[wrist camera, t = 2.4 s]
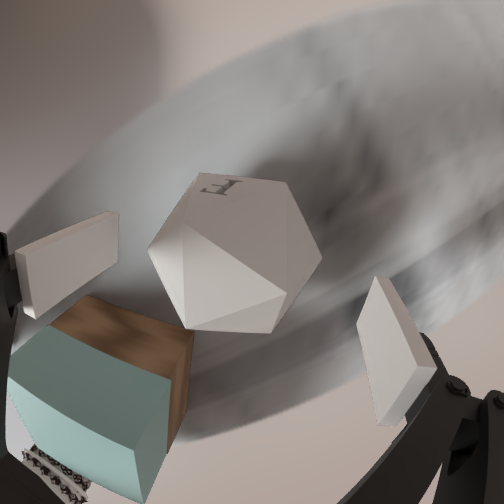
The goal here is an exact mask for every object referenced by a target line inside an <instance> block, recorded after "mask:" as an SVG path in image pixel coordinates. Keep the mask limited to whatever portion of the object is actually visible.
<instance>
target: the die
mask: <svg viewBox="0 0 504 504" xmlns="http://www.w3.org/2000/svg"><path fill="white" fill-rule="evenodd" d="M147 251H148V253H149V255H150V258H151V260H152V262H153V264H154V266H155V268H156V271H157V273H158V275H159V277H160V279H161V281H162V283H163V285H164V287H165V289H166V291H167V293H168V295H169V297H170V299H171V301H172V303H173V305H174V307H175V309H176V311H177V313H178V315H179V317H180V319H181V321H182V323H183V325H184V327H185V329H193V330H207V331H223V332H242V333H269V334H271V332H272V331H273V330H274V328H275V327H276V325H277V324H278V323H279V321H280V320H281V318H282V317H283V316H284V314H285V313H286V311H287V310H288V309H289V307H290V306H291V304H292V303H293V301H294V300H295V298H296V297H297V296H298V294H299V293H300V291H301V290H302V288H303V287H304V285H305V284H306V282H307V281H308V279H309V278H310V277H311V275H312V274H313V272H314V271H315V269H316V268H317V266H318V265H319V263H320V262H321V260H322V258H323V257H322V255H321V253H320V251H319V249H318V247H317V245H316V242H315V240H314V238H313V236H312V234H311V232H310V230H309V228H308V226H307V224H306V222H305V219H304V217H303V215H302V213H301V211H300V209H299V207H298V205H297V203H296V201H295V199H294V197H293V195H292V193H291V191H290V189H289V187H288V185H287V183H286V182H281V181H273V180H265V179H257V178H248V177H239V176H230V175H219V174H209V173H199V174H198V175H197V177H196V178H195V179H194V181H193V182H192V183H191V185H190V186H189V188H188V189H187V191H186V192H185V193H184V195H183V196H182V198H181V199H180V201H179V202H178V204H177V205H176V206H175V208H174V209H173V211H172V212H171V214H170V215H169V217H168V218H167V220H166V221H165V223H164V224H163V226H162V227H161V229H160V230H159V232H158V234H157V235H156V237H155V238H154V240H153V241H152V243H151V244H150V246H149V248H148V249H147Z"/></svg>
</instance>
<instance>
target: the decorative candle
mask: <svg viewBox="0 0 504 504" xmlns="http://www.w3.org/2000/svg"><path fill="white" fill-rule="evenodd" d="M22 454H23V456H24V458H25V459H24V460H23V461H22V463H23V464H24V465H25V466H26V467H28V468H29V469H30V470H32V471H33V472H34V473H36V474H37V475H38V476H39V477H40V478H41V479H42V480H43V481H44V482H45V483H46V484H47V485H48V486H49V487H50V489H51V490H52V491H53V492H54V493H55V494H56V495H57V496H58V497H59V498H60V499H61V500H62V501H63V502H64V503H65V504H82V503H84V502H87V501H86V500H87V499H88V496H87V494H86V490H87V489H88V488H89V487H90V485H91V482H92V481H91V480H89V479H87V478H85V477H83V476H82V475H80V474H78V473H76V472H75V471H73V470H71V469H69V468H68V467H66V466H65V465H63V464H61V463H60V462H58V461H57V460H55V459H54V458H52V457H50V456H49V455H47V454H46V453H45V452H43V451H42V450H40V449H39V448H38V447H37V446H36V444H35V443H34V445H33V446H32V448H31V449H30V450H26V449H24V451H22Z"/></svg>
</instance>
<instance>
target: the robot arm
mask: <svg viewBox="0 0 504 504" xmlns="http://www.w3.org/2000/svg"><path fill="white" fill-rule="evenodd" d="M118 231H119V214H118V213H114V212H109V211H107V212H105V213H102V214H99V215H97V216H94V217H92V218H89V219H87V220H84V221H82V222H79V223H77V224H74V225H72V226H69V227H67V228H64V229H62V230H60V231H57V232H55V233H52V234H50V235H48V236H46V237H43V238H41V239H39V240H37V241H34V242H32V243H30V244H28V245H25V246H23V247H21V248H19V249H17V250H15V251H14V252H15V253H14V254H11V255H9V256H8V247H7V237H6V234H5V233H3V232H0V504H65V503H64V502H63V501H62V500H61V499H60V498H59V497H58V496H57V495H56V494H55V493H54V492H53V491H52V490H51V489H50V487H49V486H48V485H47V484H46V483H45V482H44V481H43V480H42V479H41V478H40V477H39V476H38V475H37V474H36V473H34V472H33V471H32V470H30V469H29V468H28V467H26V466H25V465H24V464H23V463H21V462H20V461H19V460H18V459H16V458H15V457H14V456H13V455H12V454H10V453H9V452H8V450H7V446H6V439H5V414H6V392H7V380H8V370H9V362H10V354H11V347H12V341H13V335H14V330H15V324H16V319H17V314H18V308H17V303H19V302H20V301H22V303H23V308H24V313H26V314H27V315H29V316H31V317H32V318H34V319H37V318H38V317H40V316H41V315H42V314H44V313H45V312H46V311H48V310H49V309H51V308H52V307H53V306H55V305H56V304H57V303H59V302H60V301H62V300H63V299H64V298H66V297H67V296H69V295H70V294H71V293H73V292H74V291H76V290H77V289H78V288H80V287H81V286H83V285H84V284H86V283H87V282H88V281H90V280H91V279H93V278H94V277H96V276H97V275H99V274H100V273H102V272H103V271H105V270H106V269H108V268H109V267H111V266H112V265H114V264H115V263H117V262H118ZM356 325H357V329H358V333H359V337H360V342H361V346H362V350H363V355H364V359H365V364H366V368H367V373H368V377H369V383H370V387H371V392H372V398H373V403H374V408H375V414H376V420H377V425H380V426H397V425H398V423H399V422H400V421H401V420H402V419H403V417H404V416H405V417H406V421H407V425H406V426H405V427H404V429H403V430H402V431H401V432H400V433H399V435H398V436H397V437H396V438H395V439H394V440H393V442H392V444H391V445H390V447H389V448H388V449H387V450H386V451H385V453H384V454H383V455H382V456H381V458H380V459H379V460H378V461H377V462H376V463H375V464H374V466H373V467H372V468H371V469H370V470H369V471H368V472H367V474H366V475H365V476H364V477H363V478H362V479H361V480H360V481H359V482H358V483H357V484H356V486H354V487H353V488H352V489H351V490H350V492H348V494H346V495H345V496H344V497H343V498H342V499H341V500H340V501H339V502H338V503H337V504H418V503H419V502H420V500H421V499H422V497H423V495H424V494H425V492H426V490H427V489H428V487H429V485H430V484H431V482H432V480H433V478H434V477H435V475H436V473H437V471H438V469H439V467H440V466H441V463H442V462H443V463H442V469H441V472H440V477H439V481H438V485H437V489H436V492H435V496H434V500H433V503H432V504H504V393H502V392H500V391H497V390H491V391H490V392H489V393H488V394H487V395H486V397H485V398H484V399H483V400H482V399H478V398H475V397H472V396H471V392H470V390H469V387H468V386H467V385H466V384H465V382H463V381H462V380H461V379H459V378H457V377H455V376H451V375H449V374H448V372H447V370H446V368H445V366H444V365H443V362H442V361H441V359H440V357H439V355H438V353H437V351H436V350H435V347H434V345H433V343H432V342H431V340H430V339H429V338H428V337H427V336H426V335H425V334H424V333H420V332H419V331H418V329H417V327H416V325H415V324H414V322H413V320H412V318H411V316H410V314H409V313H408V311H407V309H406V307H405V305H404V304H403V302H402V300H401V298H400V297H399V295H398V293H397V291H396V290H395V288H394V286H393V285H392V283H391V281H390V280H389V279H387V278H383V277H379V276H375V277H374V280H373V283H372V286H371V288H370V291H369V293H368V296H367V299H366V301H365V304H364V306H363V309H362V311H361V314H360V316H359V319H358V321H357V323H356Z"/></svg>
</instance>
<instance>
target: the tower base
mask: <svg viewBox="0 0 504 504" xmlns="http://www.w3.org/2000/svg"><path fill="white" fill-rule="evenodd" d="M49 325H50V326H52V327H54V328H56V329H57V330H59V331H61V332H63V333H65V334H67V335H69V336H71V337H73V338H75V339H77V340H78V341H80V342H83V343H85V344H87V345H89V346H91V347H93V348H95V349H97V350H99V351H101V352H103V353H106V354H108V355H110V356H112V357H115V358H117V359H119V360H121V361H124V362H126V363H128V364H131V365H133V366H136V367H138V368H141V369H143V370H146V371H148V372H151V373H153V374H156V375H159V376H161V377H164V378H167V379H170V380H171V390H170V403H169V417H168V434H167V454H168V452H169V450H170V447H171V445H172V443H173V440H174V438H175V436H176V434H177V431H178V429H179V427H180V424H181V422H182V420H183V417H184V415H185V413H186V409H187V397H188V386H189V376H190V366H191V356H192V347H193V338H194V331H191V330H187V329H184V328H181V327H177V326H174V325H171V324H168V323H165V322H162V321H158V320H155V319H152V318H149V317H146V316H143V315H140V314H137V313H135V312H132V311H129V310H126V309H123V308H120V307H118V306H115V305H112V304H109V303H107V302H104V301H101V300H99V299H96V298H93V297H91V296H88V295H86V296H84V297H83V298H82V299H81V300H79V301H78V302H77V303H75V304H74V305H73V306H72V307H70V308H69V309H68V310H67V311H65V312H64V313H63V314H62V315H60V316H59V317H58V318H57V319H55V320H54V321H53V322H52V323H51V324H49Z"/></svg>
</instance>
